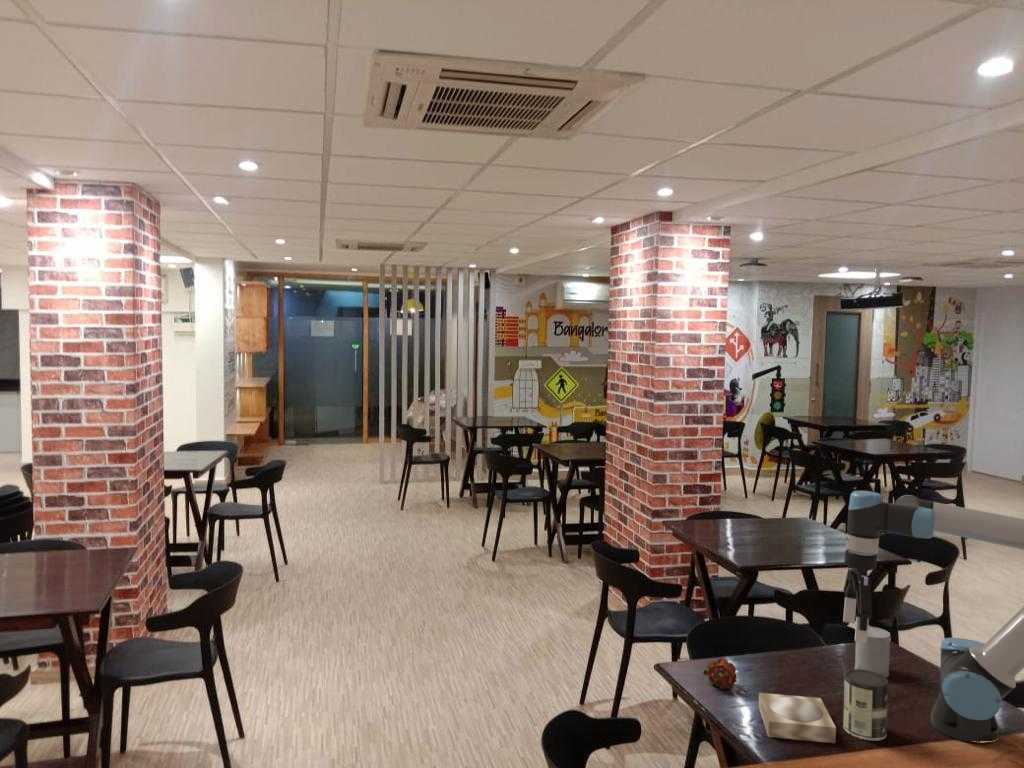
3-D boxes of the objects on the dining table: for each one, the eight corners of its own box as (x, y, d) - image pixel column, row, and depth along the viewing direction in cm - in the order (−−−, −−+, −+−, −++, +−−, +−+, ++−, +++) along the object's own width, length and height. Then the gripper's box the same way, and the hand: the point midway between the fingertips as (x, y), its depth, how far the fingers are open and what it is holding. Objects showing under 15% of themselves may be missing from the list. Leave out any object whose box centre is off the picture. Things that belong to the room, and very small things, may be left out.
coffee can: (880, 723, 194) (881, 670, 193) (892, 743, 184) (893, 688, 183) (838, 719, 196) (839, 667, 195) (847, 738, 186) (849, 683, 185)
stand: (820, 712, 199) (820, 697, 199) (835, 743, 184) (835, 726, 183) (758, 707, 202) (759, 692, 202) (768, 736, 186) (768, 720, 186)
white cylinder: (850, 663, 231) (851, 625, 231) (882, 665, 230) (883, 627, 230) (860, 676, 222) (861, 636, 221) (894, 679, 221) (895, 638, 220)
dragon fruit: (726, 701, 209) (711, 688, 221) (749, 682, 210) (733, 670, 222) (708, 676, 209) (694, 665, 221) (731, 657, 210) (716, 647, 222)
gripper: (835, 537, 202) (829, 612, 204) (856, 563, 178) (849, 648, 180) (865, 540, 201) (859, 616, 202) (890, 567, 177) (882, 653, 178)
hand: (854, 631), depth 191 cm, fingers open, 13 cm apart
